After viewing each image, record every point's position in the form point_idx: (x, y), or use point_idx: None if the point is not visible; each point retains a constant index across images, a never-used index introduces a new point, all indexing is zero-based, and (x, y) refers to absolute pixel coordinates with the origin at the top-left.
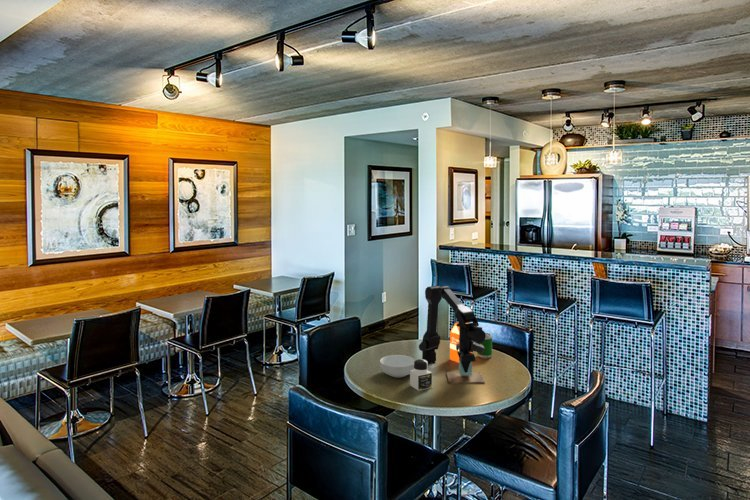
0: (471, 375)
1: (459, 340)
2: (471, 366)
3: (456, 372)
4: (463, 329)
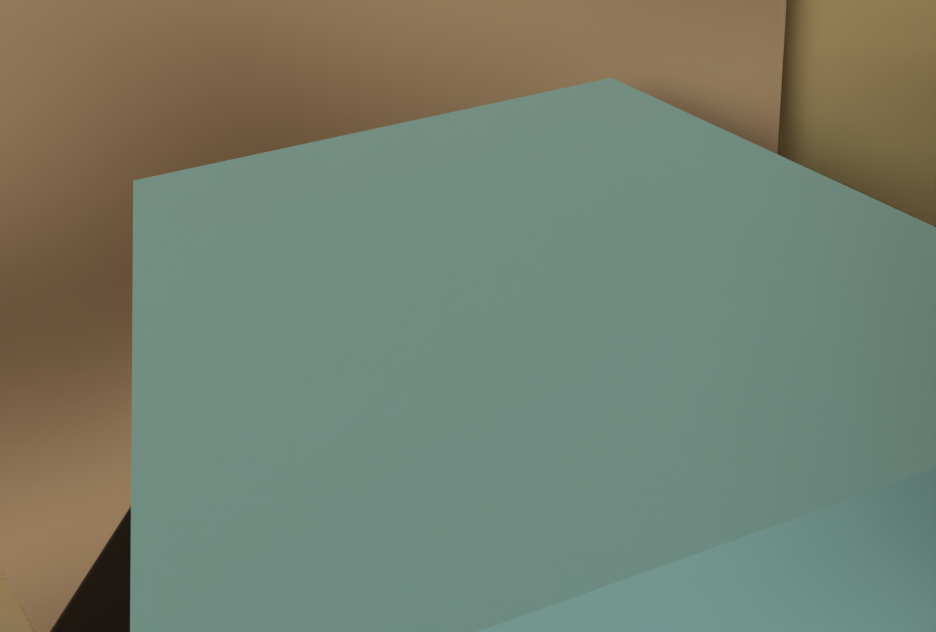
0: (610, 88)
1: None
2: (884, 227)
3: (21, 587)
4: None
